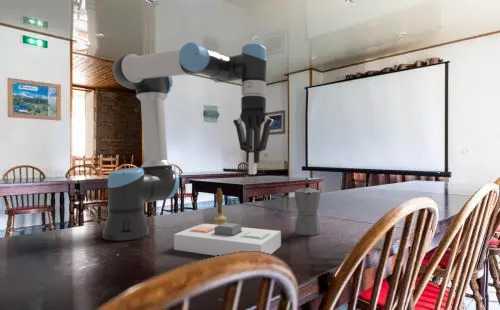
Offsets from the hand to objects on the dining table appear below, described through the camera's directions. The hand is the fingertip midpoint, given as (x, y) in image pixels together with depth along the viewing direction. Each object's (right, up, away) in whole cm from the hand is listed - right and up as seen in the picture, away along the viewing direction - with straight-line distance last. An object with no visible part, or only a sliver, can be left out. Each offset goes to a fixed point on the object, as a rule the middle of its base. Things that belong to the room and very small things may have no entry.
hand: (252, 173), depth 97 cm
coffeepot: (+20, -22, +18) cm, 35 cm away
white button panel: (-7, -22, -1) cm, 24 cm away
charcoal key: (-7, -19, -1) cm, 20 cm away
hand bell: (-12, -23, +18) cm, 31 cm away
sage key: (+1, -21, -5) cm, 21 cm away
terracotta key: (-16, -21, +2) cm, 26 cm away
